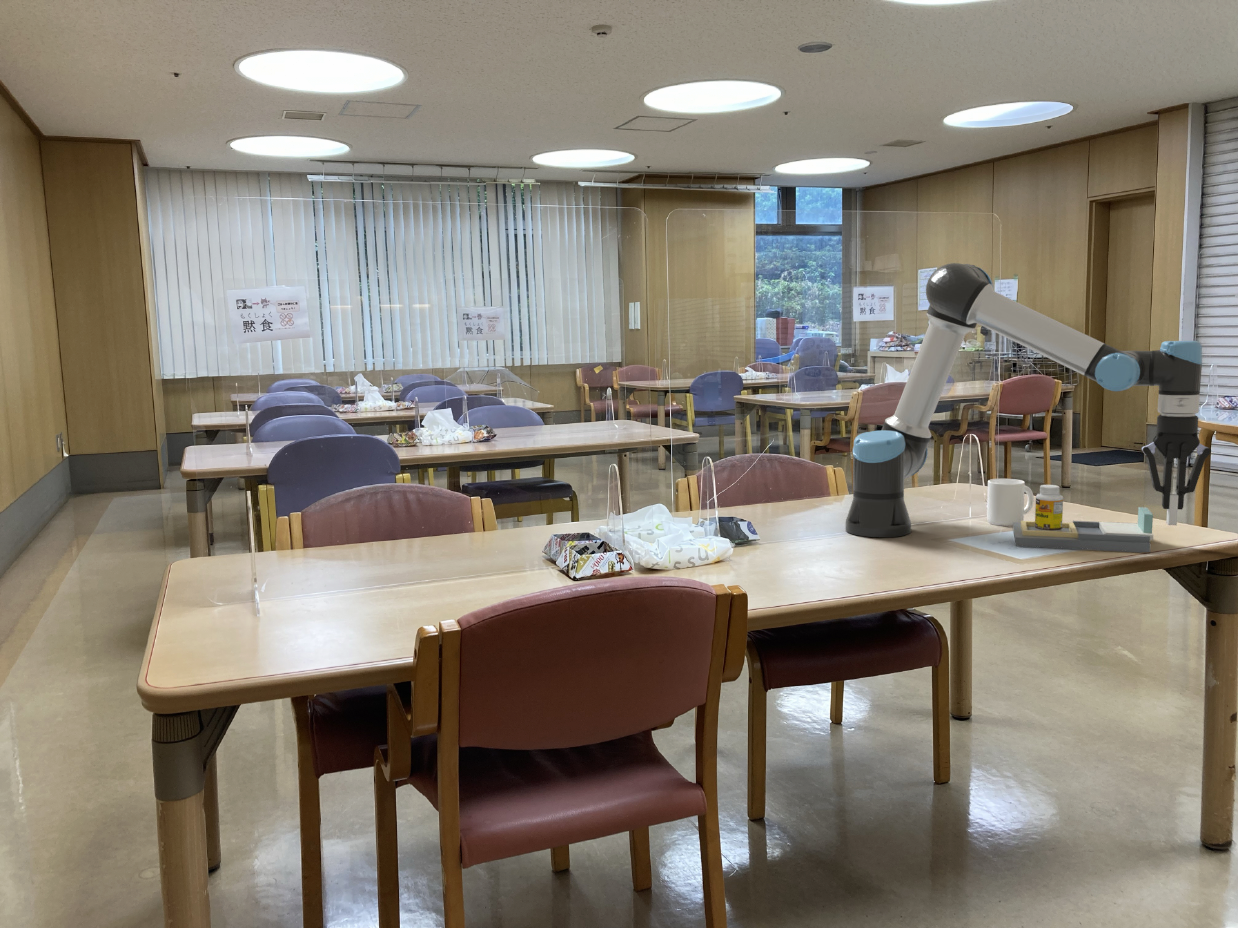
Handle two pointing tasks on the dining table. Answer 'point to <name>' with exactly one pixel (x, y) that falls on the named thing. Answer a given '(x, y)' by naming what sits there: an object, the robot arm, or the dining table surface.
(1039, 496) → the supplement bottle
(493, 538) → the dining table surface
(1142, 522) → the cover
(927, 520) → the dining table surface
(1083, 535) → the housing
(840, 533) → the dining table surface
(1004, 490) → the mug
